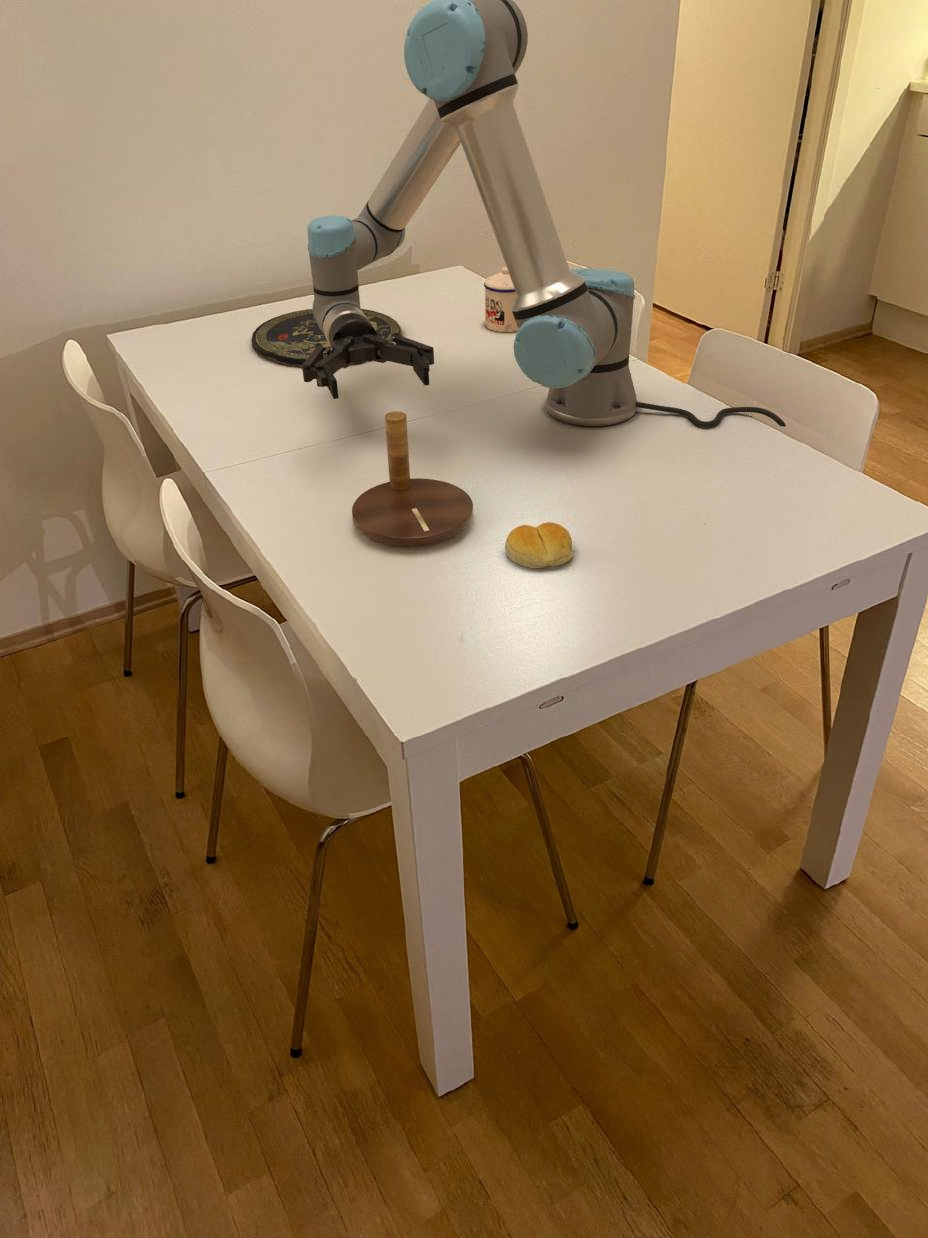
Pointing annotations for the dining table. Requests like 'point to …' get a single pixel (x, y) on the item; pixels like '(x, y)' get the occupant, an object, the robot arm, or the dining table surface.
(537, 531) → the bread roll
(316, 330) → the decorative plate
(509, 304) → the teacup with lid
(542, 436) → the dining table surface
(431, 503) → the turntable
